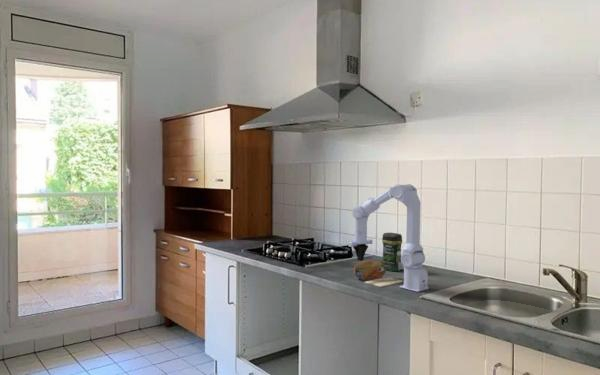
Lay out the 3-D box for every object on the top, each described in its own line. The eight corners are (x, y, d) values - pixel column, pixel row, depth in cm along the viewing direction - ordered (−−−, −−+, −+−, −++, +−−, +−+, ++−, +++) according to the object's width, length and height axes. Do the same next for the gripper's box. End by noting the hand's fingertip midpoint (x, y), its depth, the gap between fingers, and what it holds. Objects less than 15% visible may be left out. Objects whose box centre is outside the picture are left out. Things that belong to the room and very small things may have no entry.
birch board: (403, 281, 194) (403, 280, 194) (381, 287, 185) (381, 286, 185) (386, 277, 202) (386, 276, 202) (364, 282, 192) (364, 281, 192)
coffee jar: (379, 269, 219) (379, 232, 219) (388, 266, 225) (388, 231, 224) (395, 272, 212) (395, 234, 212) (404, 270, 218) (404, 233, 217)
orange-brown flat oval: (355, 280, 196) (355, 262, 196) (352, 279, 199) (353, 260, 199) (385, 278, 200) (385, 260, 200) (382, 276, 203) (382, 259, 203)
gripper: (364, 229, 211) (364, 257, 212) (343, 231, 202) (343, 260, 202) (376, 231, 206) (375, 259, 206) (354, 233, 196) (354, 263, 197)
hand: (360, 260), depth 204 cm, fingers closed
